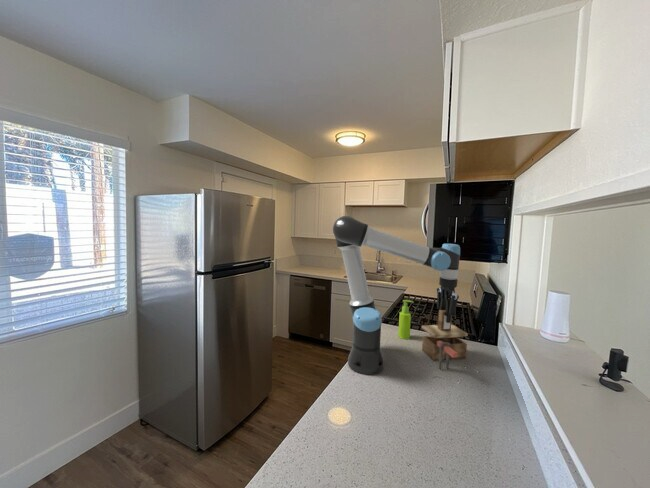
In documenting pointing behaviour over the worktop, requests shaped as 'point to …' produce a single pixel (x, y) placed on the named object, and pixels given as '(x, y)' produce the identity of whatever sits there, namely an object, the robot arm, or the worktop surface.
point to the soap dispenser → (404, 321)
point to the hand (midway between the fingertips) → (444, 327)
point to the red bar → (448, 350)
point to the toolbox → (438, 353)
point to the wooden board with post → (439, 332)
